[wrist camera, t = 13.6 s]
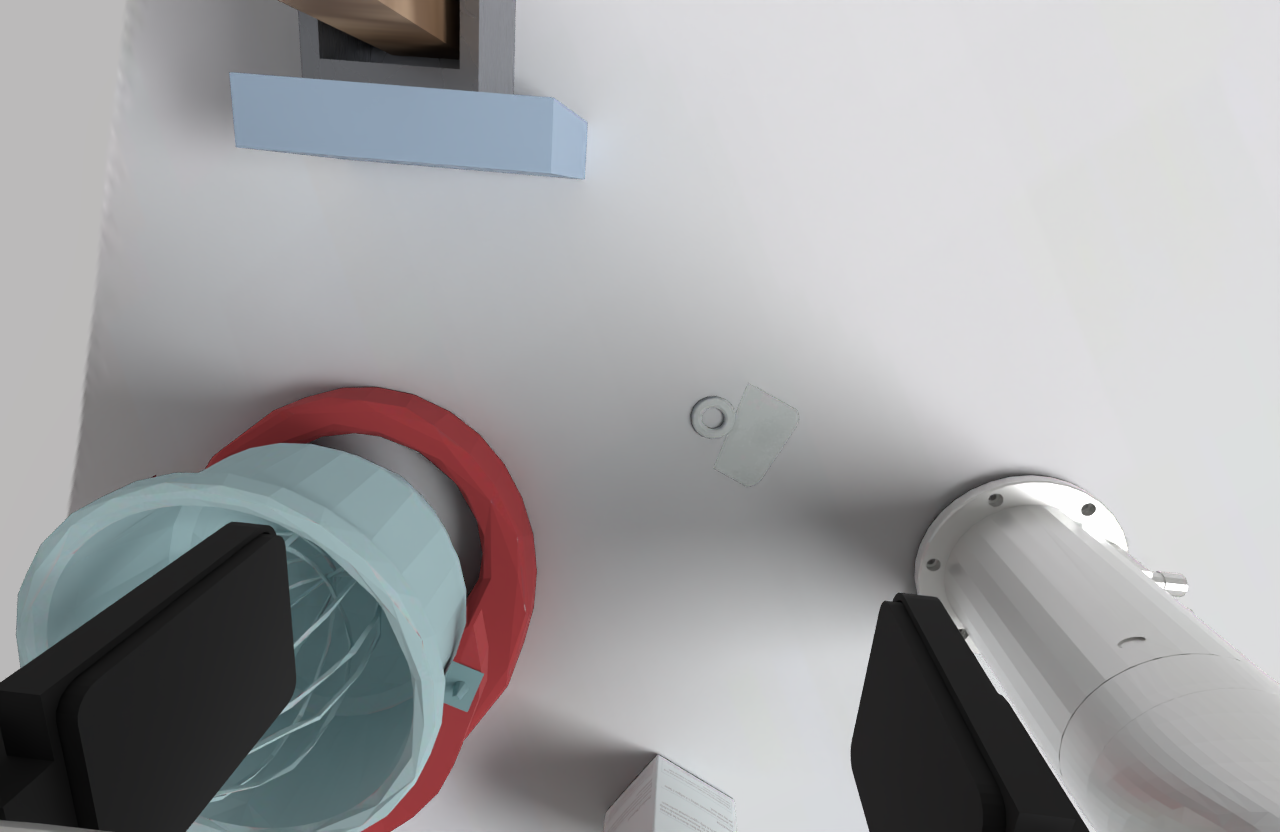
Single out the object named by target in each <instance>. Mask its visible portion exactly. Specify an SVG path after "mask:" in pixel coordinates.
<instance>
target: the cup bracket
mask: <svg viewBox="0 0 1280 832" xmlns="http://www.w3.org/2000/svg"><path fill="white" fill-rule="evenodd" d="M515 10H516V0H460V60H455V59H440V58H426V57H412V56H398V55H391V54H389V53H387V52H385V51H383V50H381V49H379V48H376V47H374V46H372V45H370V44H368V43H366V42H364V41H362V40H360V39H358V38H356V37H353V36H351V35H349V34H347V33H345V32H343V31H341V30H339V29H337V28H335V27H333V26H331V25H328V24H326V23H324V22H322V21H320V20H318V19H316V18H314V17H312V16H310V15H308V14H305V13H303V12H301V11H299V10H298V15H299V31H300V48H301V65H302V78H310V79H323V80H335V81H348V82H361V83H373V84H386V85H399V86H411V87H424V88H437V89H450V90H462V91H475V92H488V93H500V94H513V95H514V53H515Z"/></svg>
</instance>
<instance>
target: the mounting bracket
mask: <svg viewBox="0 0 1280 832" xmlns="http://www.w3.org/2000/svg"><path fill="white" fill-rule="evenodd" d="M709 408H717V409H719V410H721V411H722V413H723V415H724V422H723V424H722V425H721V426H719V427H717V428H709V427H707V426H705V425H704V424H703V422H702V415H703V413H704V412H705V411H706V410H707V409H709ZM798 422H799V414H798V411H797V410H796V409H794V408H793V407H791V406H789V405H787V404H785V403H784V402H782V401H780V400H778V399H776V398H775V397H773V396H771V395H769V394H768V393H766V392H764V391H762V390H760V389H759V388H757V387H755V386H753V385H751V384H750V383H748V384H747V387H746V389H745V391H744V394H743V396H742V399H741V401H740V404H739V406H738V409H737V411H736V414H735V411H734V409H733V407H732V405H731V404H730V403H729V402H728V401H727V400H725V399H723V398H720V397H717V396H712V397H706V398H704V399H702V400H700V401H699V402H698V403H697V404H696V405H695V406H694V407H693V410H692V413H691V423H692V425H693V427H694V429H695V431H696V432H698V433H699V434H700V435H701V436H703V437H706V438H709V439H714V438H720V437H722V436H725V435H727V436H726V438H725V441H724V443H723V446H722V448H721V451H720V453H719V455H718V458H717V460H716V463H715V465H714V468H713V469H715V470H717V471H718V472H720V473H722V474H724V475H726V476H728V477H729V478H731V479H733V480H735V481H737V482H739V483H740V484H742V485H744V486H746V487H750V486H754V485H756V484H757V483H759V482H760V481H761V480H762V478H763V477H764V475H765V474H766V472H767V471H768V469H769V468H770V466H771V465H772V463H773V462H774V460H775V459H776V457H777V456H778V454H779V453H780V451H781V450H782V448H783V447H784V445H785V443H786V442H787V440H788V439H789V437H790V436H791V434H792V433H793V431H794V430H795V428H796V427H797V425H798Z"/></svg>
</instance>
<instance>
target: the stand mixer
mask: <svg viewBox="0 0 1280 832" xmlns="http://www.w3.org/2000/svg"><path fill="white" fill-rule="evenodd" d="M351 433H358V434H366V435H373V436H380V437H383V438H385V439H388V440H390V441H393V442H396V443H398V444H401V445H403V446H406V447H408V448H411V449H413V450H416V451H418V452H420V453H421V454H422V455H424V456H425V457H426V458H427V459H428V460H429V461H431V462H432V463H433V464H434V465H435V466H436V467H438V468H439V469H440V470H441V471H442V472H443V473H445V474H446V475H447V476H448V477H449V478H450V479H452V480H453V481H454V482H455V483H456V484H457V486H458V488H459V490H460V491H461V493H462V495H463V497H464V499H465V500H466V502H467V504H468V506H469V507H470V509H471V511H472V513H473V515H474V516H475V518H476V520H477V524H478V530H479V536H480V542H481V548H482V561H481V567H480V574H479V579H478V581H477V583H476V584H475V586H474V588H473V589H472V591H471V593H470V594H469V596H468V598H467V599H466V587H465V583H464V578H463V574H462V570H461V566H460V561H459V557H458V555H457V554H456V552H455V550H454V548H453V546H452V544H451V540H450V537H449V534H448V532H447V531H446V529H445V527H444V526H443V524H442V522H441V521H440V519H439V518H438V516H437V514H436V513H435V511H434V510H433V509H432V507H431V506H430V505H429V504H428V503H427V501H426V500H425V499H424V498H423V497H422V495H421V494H420V493H419V492H418V491H417V490H415V489H414V488H413V487H412V486H411V485H410V484H409V483H408V482H407V481H406V480H405V479H404V478H402V477H401V476H400V475H398V474H396V473H394V472H392V471H389V470H387V469H385V468H383V467H381V466H379V465H377V464H375V463H373V462H370V461H368V460H366V459H364V458H362V457H360V456H358V455H354V454H350V453H347V452H345V451H340V450H336V449H331V448H327V447H323V446H318V445H314V444H306V443H309V442H311V441H313V440H316V439H318V438H320V437H324V436H333V435H342V434H351ZM230 522H244V523H253V524H262V525H270V526H271V527H273V528H274V530H275V532H276V535H279V536H281V537H283V539H284V541H285V545H286V556H287V569H288V581H289V593H290V605H291V617H292V630H293V642H294V654H295V666H296V686H295V690H294V693H293V696H292V698H291V700H290V702H289V703H288V705H287V706H286V707H285V708H284V710H283V711H282V712H281V713H280V715H279V716H278V717H277V718H276V720H275V721H274V722H273V723H272V725H271V726H270V727H269V728H268V730H267V731H266V732H265V733H264V735H263V736H262V737H261V738H260V740H259V741H258V742H257V743H256V745H255V746H254V747H253V748H252V750H251V751H250V752H249V753H248V755H247V756H246V757H245V758H244V760H243V761H242V762H241V763H240V765H239V766H238V767H237V768H236V770H235V771H234V772H233V773H232V775H231V776H230V777H229V779H228V780H227V781H226V782H225V784H224V785H223V786H222V787H221V789H220V790H219V791H218V792H217V794H216V795H215V796H214V797H213V799H212V800H211V801H210V802H209V804H208V805H207V806H206V807H205V809H204V810H203V811H202V812H201V814H200V815H199V816H198V817H197V819H196V820H195V821H194V822H193V824H192V825H191V826H190V827H189V829H188V830H187V831H186V832H391V831H392V830H394V829H395V828H397V827H399V826H400V825H402V824H403V823H405V822H406V821H408V820H410V819H411V818H413V817H414V816H415V815H416V814H417V813H418V812H419V811H420V810H421V809H422V808H423V807H424V806H425V805H426V804H427V803H428V802H429V801H430V800H431V799H432V798H433V797H434V796H435V795H436V794H437V793H438V792H439V790H440V789H441V787H442V785H443V783H444V781H445V780H446V778H447V776H448V774H449V773H450V771H451V769H452V767H453V765H454V763H455V761H456V758H457V756H458V754H459V751H460V749H461V746H462V744H463V741H464V740H465V739H466V737H467V736H468V735H469V734H470V732H471V731H472V730H473V729H474V727H475V726H476V725H477V724H478V722H479V721H480V720H481V719H482V717H483V716H484V715H485V714H486V712H487V711H488V710H489V709H490V708H491V706H492V705H493V704H494V703H495V701H496V700H497V699H498V698H499V696H500V695H501V694H502V693H503V691H504V690H505V689H506V688H507V686H508V684H509V681H510V679H511V676H512V673H513V671H514V668H515V665H516V662H517V660H518V657H519V654H520V652H521V649H522V646H523V643H524V640H525V637H526V633H527V630H528V626H529V622H530V619H531V615H532V612H533V608H534V598H535V587H536V575H537V568H536V558H535V548H534V538H533V532H532V529H531V526H530V522H529V519H528V516H527V512H526V509H525V506H524V502H523V499H522V497H521V495H520V493H519V491H518V489H517V487H516V485H515V484H514V482H513V480H512V478H511V476H510V474H509V472H508V470H507V469H506V467H505V465H504V463H503V462H502V461H501V460H500V459H499V457H498V456H497V455H496V454H495V453H494V451H493V450H492V449H491V448H490V447H489V445H488V444H487V443H486V442H485V441H484V439H483V438H482V437H481V436H480V435H479V434H478V433H477V432H475V431H474V430H473V429H471V428H470V427H469V426H468V425H466V424H465V423H464V422H463V421H461V420H460V419H459V418H458V417H456V416H455V415H454V414H452V413H451V412H449V411H447V410H445V409H443V408H441V407H439V406H437V405H435V404H433V403H430V402H428V401H426V400H424V399H422V398H420V397H418V396H416V395H413V394H408V393H403V392H398V391H393V390H388V389H384V388H379V387H363V388H340V389H336V390H332V391H329V392H325V393H321V394H317V395H313V396H309V397H306V398H303V399H301V400H298V401H296V402H293V403H291V404H288V405H286V406H283V407H281V408H279V409H276V410H274V411H272V412H271V413H270V414H268V415H267V416H266V417H264V418H263V419H262V420H260V421H259V422H258V423H256V424H255V425H254V426H252V427H251V428H250V429H248V430H247V431H246V432H244V433H243V434H242V435H240V436H239V437H238V438H236V439H235V440H234V441H232V442H231V443H230V444H228V445H227V446H226V447H224V448H223V449H222V450H220V451H219V452H218V453H217V454H215V455H214V456H213V457H212V458H211V460H210V462H209V463H208V465H207V467H206V468H205V470H203V471H201V472H199V473H171V474H167V475H162V476H158V477H156V475H155V476H153V477H151V478H148V479H144V480H139V481H135V482H133V483H131V484H129V485H127V486H125V487H122V488H120V489H118V490H116V491H114V492H112V493H109V494H107V495H105V496H103V497H101V498H99V499H97V500H95V501H94V502H92V503H90V504H88V505H86V506H85V507H83V508H81V509H79V510H77V511H76V512H74V513H72V514H71V515H70V516H69V517H68V518H67V519H66V520H65V521H64V522H63V523H62V524H61V525H60V526H59V527H58V528H57V529H56V530H55V531H54V532H53V533H52V534H51V535H50V536H49V537H48V538H47V539H46V540H45V541H44V542H43V543H42V544H41V546H40V547H39V549H38V551H37V553H36V556H35V558H34V560H33V562H32V564H31V566H30V568H29V570H28V572H27V574H26V576H25V579H24V581H23V584H22V586H21V588H20V591H19V593H18V604H17V626H16V638H17V644H18V652H19V660H20V667H21V668H22V667H23V666H25V665H26V664H27V663H29V662H30V661H32V660H33V659H35V658H36V657H37V656H39V655H40V654H42V653H43V652H45V651H46V650H47V649H49V648H50V647H52V646H53V645H55V644H56V643H57V642H59V641H60V640H62V639H63V638H65V637H66V636H67V635H69V634H70V633H72V632H73V631H75V630H76V629H77V628H79V627H80V626H82V625H83V624H85V623H86V622H87V621H89V620H90V619H92V618H93V617H95V616H96V615H97V614H99V613H100V612H102V611H103V610H105V609H106V608H107V607H109V606H110V605H112V604H113V603H115V602H116V601H117V600H119V599H120V598H122V597H123V596H125V595H126V594H127V593H129V592H130V591H132V590H133V589H135V588H136V587H137V586H139V585H140V584H142V583H143V582H145V581H146V580H147V579H149V578H150V577H152V576H153V575H155V574H156V573H157V572H159V571H160V570H162V569H163V568H165V567H166V566H167V565H169V564H170V563H172V562H173V561H175V560H176V559H177V558H179V557H180V556H182V555H183V554H185V553H186V552H187V551H189V550H190V549H192V548H193V547H195V546H196V545H197V544H199V543H200V542H202V541H203V540H205V539H206V538H207V537H209V536H210V535H212V534H213V533H215V532H216V531H217V530H219V529H220V528H222V527H223V526H225V525H226V524H228V523H230Z"/></svg>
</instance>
